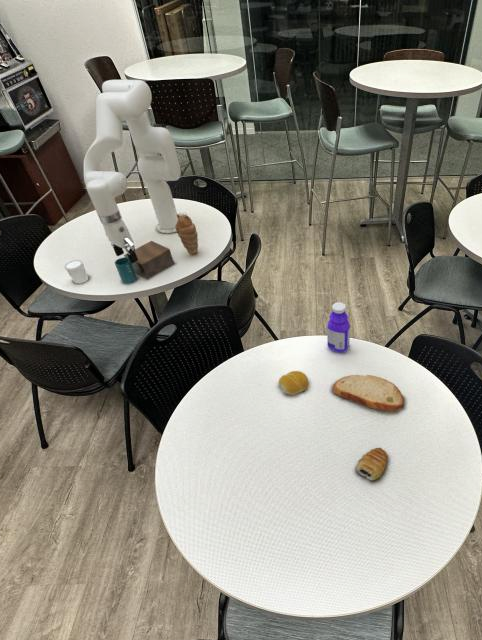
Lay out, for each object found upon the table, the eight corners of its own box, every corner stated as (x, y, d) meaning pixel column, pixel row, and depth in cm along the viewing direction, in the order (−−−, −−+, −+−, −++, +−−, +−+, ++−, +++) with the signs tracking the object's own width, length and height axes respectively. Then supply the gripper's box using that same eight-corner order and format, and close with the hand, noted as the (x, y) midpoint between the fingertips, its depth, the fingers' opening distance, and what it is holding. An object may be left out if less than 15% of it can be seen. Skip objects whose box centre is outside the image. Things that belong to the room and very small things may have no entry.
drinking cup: (124, 256, 169) (111, 262, 166) (133, 260, 167) (120, 266, 164) (131, 274, 175) (119, 280, 172) (140, 279, 173) (128, 285, 170)
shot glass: (84, 285, 171) (76, 270, 166) (69, 283, 172) (60, 268, 167) (93, 275, 175) (85, 260, 170) (78, 274, 177) (70, 259, 171)
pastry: (371, 446, 115) (372, 438, 112) (393, 458, 112) (395, 450, 109) (353, 471, 110) (353, 464, 107) (375, 485, 107) (377, 477, 104)
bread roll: (313, 387, 130) (312, 378, 127) (288, 399, 127) (287, 390, 124) (299, 371, 135) (298, 362, 132) (274, 382, 132) (273, 374, 129)
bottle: (351, 345, 142) (353, 303, 129) (345, 355, 139) (346, 314, 126) (331, 339, 145) (331, 297, 132) (325, 350, 141) (324, 308, 128)
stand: (156, 255, 185) (151, 240, 180) (174, 263, 180) (169, 249, 174) (129, 270, 177) (123, 255, 172) (147, 279, 172) (141, 264, 167)
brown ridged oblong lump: (180, 256, 183) (167, 217, 170) (190, 247, 188) (179, 208, 175) (197, 260, 181) (186, 220, 167) (207, 251, 186) (197, 211, 172)
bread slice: (328, 385, 131) (328, 377, 128) (380, 367, 135) (380, 359, 132) (354, 428, 119) (355, 420, 117) (409, 407, 124) (411, 399, 121)
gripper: (132, 218, 153) (148, 260, 166) (105, 206, 160) (122, 247, 173) (115, 227, 149) (132, 269, 162) (87, 214, 156) (106, 255, 169)
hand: (127, 258), depth 168 cm, fingers open, 8 cm apart
